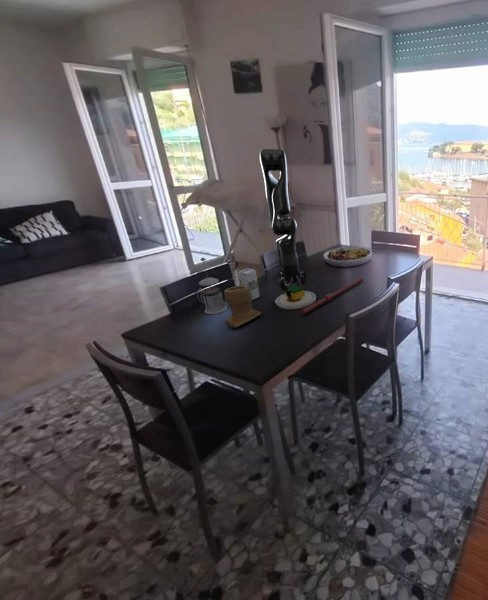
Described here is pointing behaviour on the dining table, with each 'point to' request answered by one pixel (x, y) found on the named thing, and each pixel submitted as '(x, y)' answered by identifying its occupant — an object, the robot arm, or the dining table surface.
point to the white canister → (249, 282)
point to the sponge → (296, 291)
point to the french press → (218, 299)
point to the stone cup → (239, 306)
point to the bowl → (347, 256)
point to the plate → (296, 301)
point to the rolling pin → (330, 296)
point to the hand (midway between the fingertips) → (295, 295)
